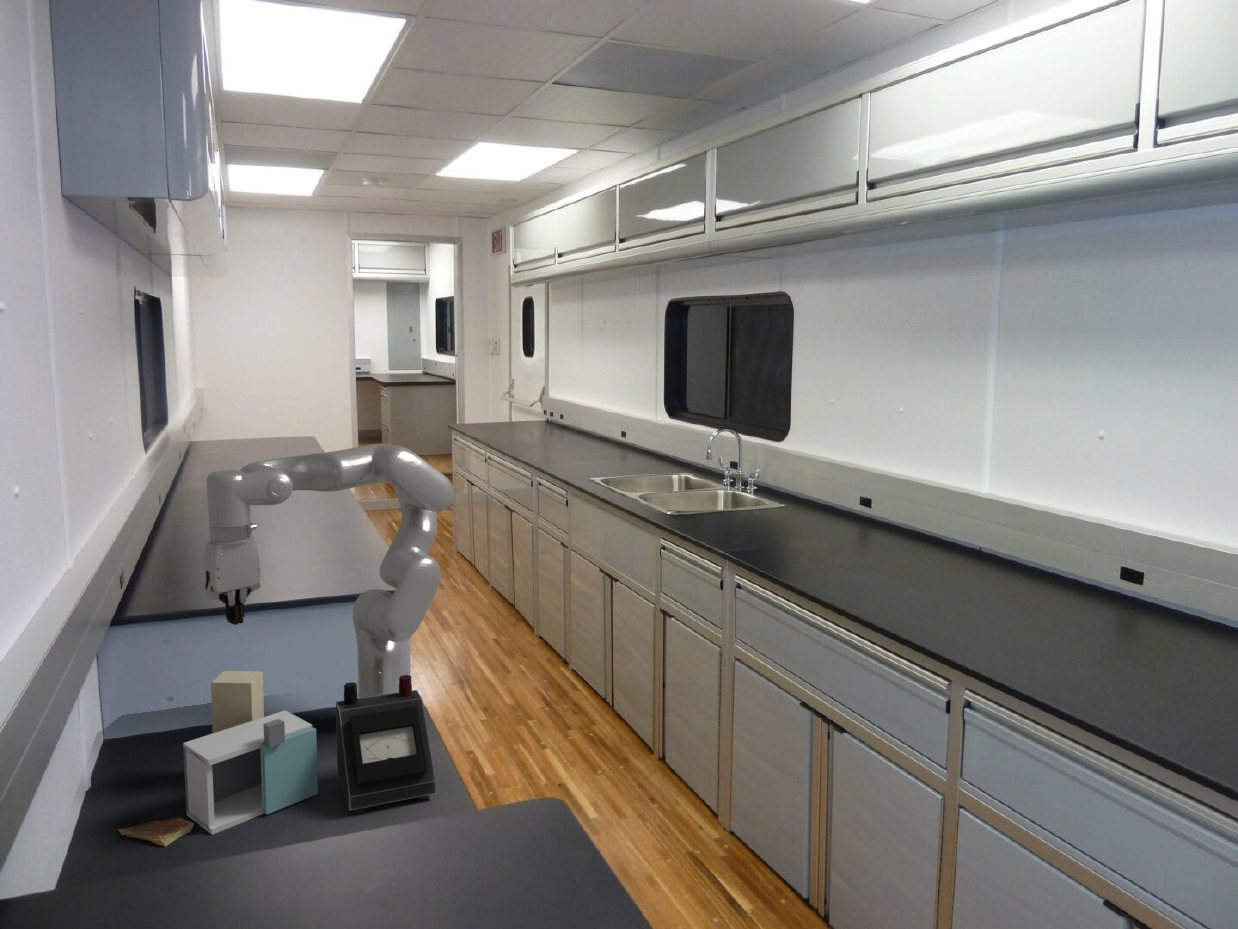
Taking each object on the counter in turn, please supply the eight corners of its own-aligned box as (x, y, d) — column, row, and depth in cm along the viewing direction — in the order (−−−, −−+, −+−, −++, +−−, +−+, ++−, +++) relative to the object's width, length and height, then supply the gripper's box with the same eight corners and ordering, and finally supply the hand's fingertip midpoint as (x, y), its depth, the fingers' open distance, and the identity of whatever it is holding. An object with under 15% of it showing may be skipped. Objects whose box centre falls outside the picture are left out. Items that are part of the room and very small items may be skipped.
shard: (117, 836, 157) (117, 827, 157) (154, 816, 164) (154, 807, 164) (163, 850, 153) (162, 841, 153) (199, 829, 160) (198, 819, 160)
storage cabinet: (287, 776, 179) (285, 710, 177) (314, 793, 173) (312, 725, 171) (186, 815, 164) (183, 743, 162) (212, 835, 158) (208, 760, 156)
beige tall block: (267, 767, 183) (264, 669, 180) (254, 784, 176) (250, 683, 173) (228, 767, 183) (224, 669, 180) (213, 784, 175) (209, 683, 172)
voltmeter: (349, 818, 164) (347, 715, 162) (337, 778, 179) (335, 683, 176) (436, 801, 171) (435, 702, 168) (417, 764, 186) (416, 672, 183)
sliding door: (315, 792, 173) (312, 707, 170) (320, 795, 171) (318, 710, 169) (263, 812, 165) (260, 724, 162) (269, 816, 163) (266, 727, 161)
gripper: (255, 524, 183) (260, 610, 186) (183, 537, 172) (189, 628, 174) (275, 529, 179) (280, 617, 181) (203, 542, 167) (208, 636, 170)
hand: (235, 622), depth 178 cm, fingers closed
